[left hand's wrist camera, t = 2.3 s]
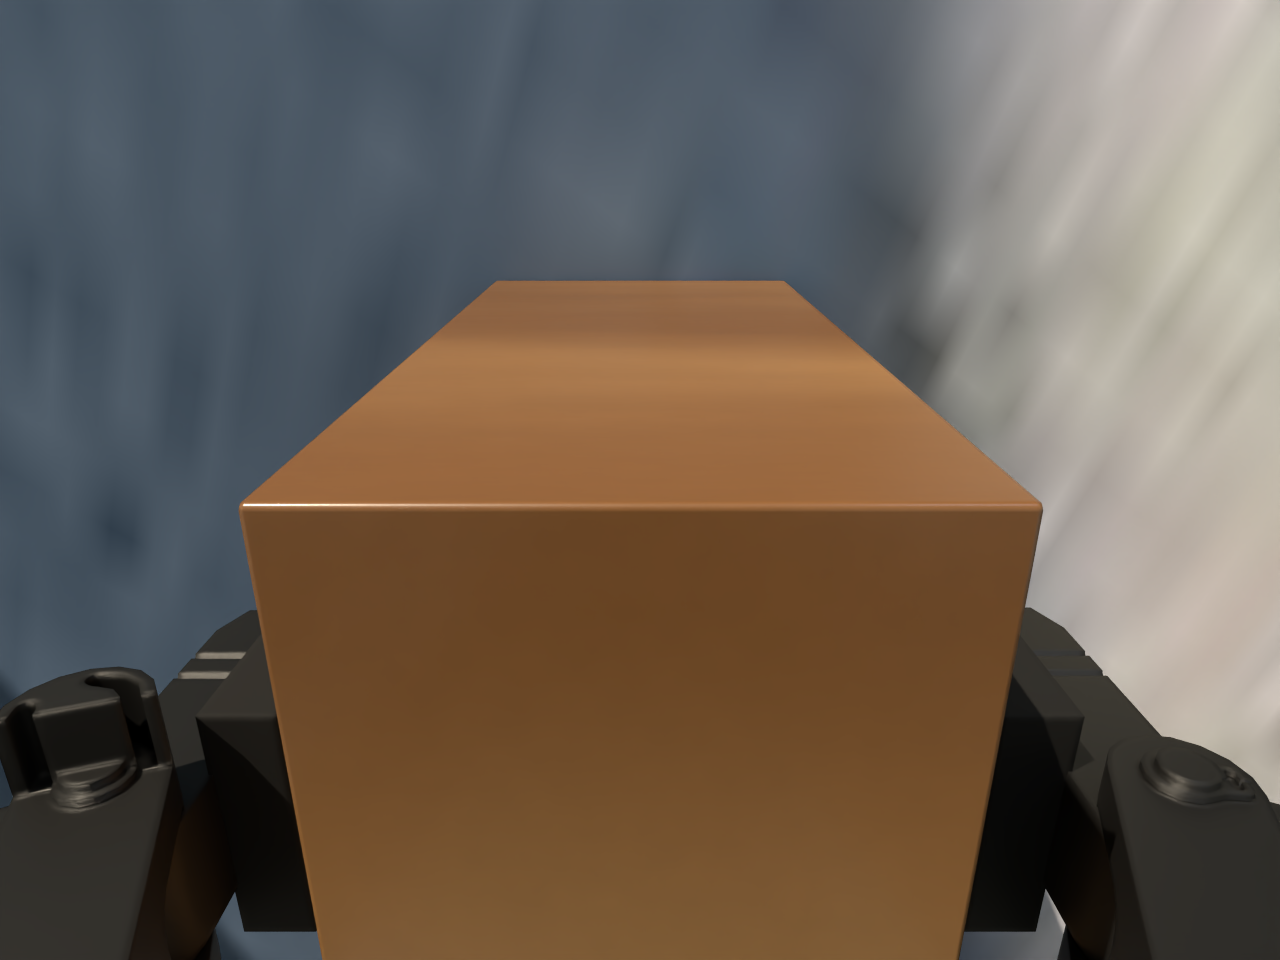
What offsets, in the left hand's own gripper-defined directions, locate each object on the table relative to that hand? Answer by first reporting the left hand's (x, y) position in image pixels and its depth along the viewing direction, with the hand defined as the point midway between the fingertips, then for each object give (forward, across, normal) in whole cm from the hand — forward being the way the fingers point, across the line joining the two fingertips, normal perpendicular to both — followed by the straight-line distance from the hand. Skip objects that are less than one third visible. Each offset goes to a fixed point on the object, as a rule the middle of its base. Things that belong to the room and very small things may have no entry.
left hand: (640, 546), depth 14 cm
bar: (+1, 0, -7) cm, 7 cm away
